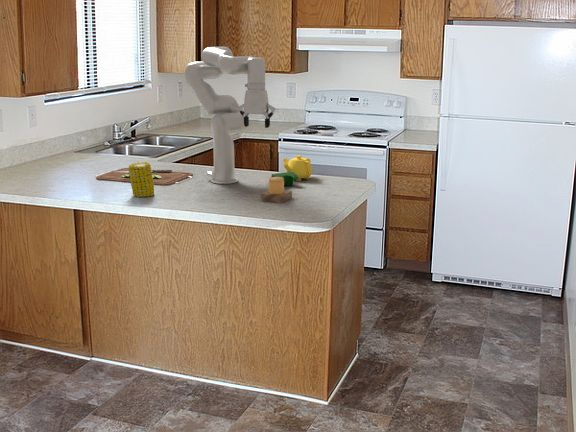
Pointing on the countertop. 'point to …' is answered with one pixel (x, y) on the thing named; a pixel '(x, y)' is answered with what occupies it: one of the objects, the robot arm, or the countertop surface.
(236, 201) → the countertop surface
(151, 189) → the food
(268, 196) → the post block
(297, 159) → the teapot
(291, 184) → the clamp
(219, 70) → the robot arm
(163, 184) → the chopping board
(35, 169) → the countertop surface
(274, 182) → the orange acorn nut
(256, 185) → the countertop surface
